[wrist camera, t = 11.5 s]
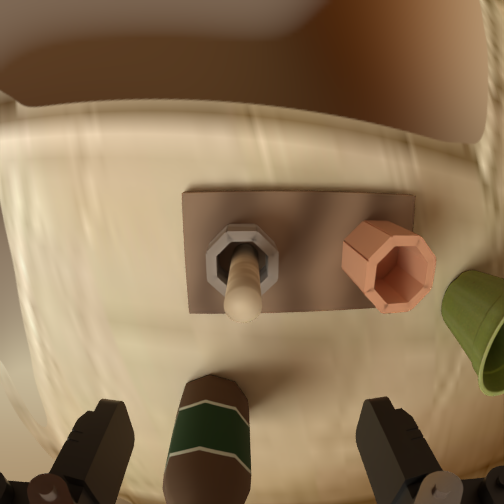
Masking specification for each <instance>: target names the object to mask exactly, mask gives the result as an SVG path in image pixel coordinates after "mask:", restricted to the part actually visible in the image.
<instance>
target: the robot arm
mask: <svg viewBox="0 0 504 504" xmlns="http://www.w3.org/2000/svg"><path fill="white" fill-rule="evenodd" d="M67 439H68V440H67V441H66V442H65V444H64V445H63V447H62V449H61V451H60V453H59V455H58V457H57V459H56V461H55V463H54V464H53V467H52V468H51V470H50V472H49V473H45V474H40V475H38V476H36V477H34V478H33V479H32V480H31V481H30V482H17V481H7V479H6V478H5V477H4V476H3V474H2V473H0V504H115V503H116V500H117V497H118V493H119V490H120V487H121V484H122V481H123V478H124V474H125V471H126V468H127V465H128V462H129V459H130V456H131V453H132V450H133V447H134V440H135V438H134V431H133V428H132V425H131V422H130V419H129V416H128V412H127V409H126V406H125V404H124V402H123V401H116V400H108V399H101V400H100V401H99V403H98V405H97V407H96V409H95V411H94V412H93V411H87V412H86V413H85V414H84V415H82V416H81V417H80V418H79V419H78V420H77V422H76V423H75V425H74V427H73V429H72V432H70V434H69V436H68V438H67ZM356 443H357V447H358V450H359V452H360V455H361V458H362V461H363V464H364V467H365V469H366V472H367V475H368V478H369V481H370V484H371V487H372V490H373V493H374V495H375V498H376V501H377V504H504V466H498V467H495V468H493V469H492V470H491V471H490V472H489V473H488V474H487V476H486V477H485V478H477V479H467V480H461V479H459V477H458V476H456V475H455V474H453V473H451V472H448V471H443V470H442V468H441V467H440V465H439V463H438V461H437V460H436V458H435V456H434V454H433V452H432V451H431V449H430V447H429V445H428V444H427V442H426V440H425V438H423V435H422V433H421V431H420V429H419V430H418V426H417V424H416V422H415V421H414V419H413V417H412V416H411V415H409V414H408V413H407V412H406V411H404V410H403V409H402V408H400V409H394V407H393V405H392V403H391V401H390V400H389V398H388V397H380V398H373V399H367V400H365V401H364V403H363V407H362V411H361V414H360V418H359V422H358V425H357V429H356Z"/></svg>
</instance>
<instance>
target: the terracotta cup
mask: <svg viewBox="0 0 504 504" xmlns="http://www.w3.org/2000/svg"><path fill="white" fill-rule="evenodd" d="M344 240H345V241H343V252H342V266H341V267H342V269H343V270H344V272H345V273H346V274H347V275H348V276H349V277H350V278H351V279H352V281H353V282H354V283H355V284H356V285H357V286H358V287H359V289H360V290H361V291H362V292H363V293H364V294H365V296H366V297H367V298H368V299H369V300H370V301H371V302H372V303H373V304H374V305H375V307H376V308H377V309H378V310H379V311H380V312H381V313H383V314H385V313H397V312H408V311H409V310H410V311H411V310H412V309H413V308H414V307H415V306H416V305H417V304H418V303H419V302H420V301H421V300H422V299H423V298H424V296H425V295H426V294H427V293H428V292H429V291H430V290H431V289H430V288H432V284H433V279H434V273H435V266H436V257H435V255H434V254H433V252H432V251H431V249H430V248H429V246H428V245H427V244H426V242H425V241H424V239H423V238H422V236H420V235H418V234H415V233H413V232H411V231H409V230H407V229H405V228H403V227H401V226H398V225H396V224H394V223H392V222H390V221H374V220H364V221H362V222H361V223H360V224H359V225H358V226H357V227H356V228H355V229H354V230H353V231H352V232H351V233H350V234H349V235H348V236H347V237H346V238H345V239H344Z"/></svg>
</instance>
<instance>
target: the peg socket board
mask: <svg viewBox="0 0 504 504" xmlns="http://www.w3.org/2000/svg"><path fill="white" fill-rule="evenodd" d="M414 208H415V196H413V195H406V194H388V193H366V192H338V191H205V192H183V193H182V212H183V233H184V250H185V265H186V279H187V292H188V304H189V313H196V314H224V313H225V310H224V300H225V294H226V288H227V282H228V276H229V271H230V265H231V259H232V254H233V251H234V249H235V248H236V247H237V246H238V245H240V244H244V243H246V244H250V245H252V246H254V247H255V249H256V250H257V253H258V263H259V275H260V287H261V299H262V310H261V313H280V312H308V311H329V310H347V309H363V308H376V307H375V305H374V304H373V303H372V302H371V301H370V300H369V299H368V298H367V297H366V296H365V294H364V293H363V292H362V291H361V290H360V289H359V287H358V286H357V285H356V284H355V283H354V282H353V281H352V279H351V278H350V277H349V276H348V275H347V274H346V273H345V272H344V270H343V269H342V267H341V266H342V252H343V241H345V240H344V239H345V238H346V237H347V236H348V235H349V234H350V233H351V232H352V231H353V230H354V229H355V228H356V227H357V226H358V225H359V224H360V223H361V222H362V221H364V220H374V221H390V222H392V223H394V224H396V225H398V226H401V227H403V228H405V229H407V230H409V231H411V232H413V221H414Z"/></svg>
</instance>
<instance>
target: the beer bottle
mask: <svg viewBox="0 0 504 504" xmlns="http://www.w3.org/2000/svg"><path fill="white" fill-rule="evenodd" d="M250 486H251V454H250V425H249V406H248V400H247V398H246V397H245V395H244V394H243V393H242V391H241V390H240V388H239V387H238V385H237V384H236V383H235V381H231V380H227V379H224V378H220V377H216V376H212V375H208V376H205V377H202V378H199V379H197V380H194V381H191V382H188V383H187V384H186V386H185V389H184V392H183V395H182V398H181V402H180V405H179V408H178V412H177V416H176V420H175V425H174V429H173V434H172V438H171V443H170V448H169V452H168V457H167V462H166V466H165V471H164V479H163V492H164V496H165V500H166V503H167V504H244V503H245V501H246V499H247V496H248V494H249V492H250Z"/></svg>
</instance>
